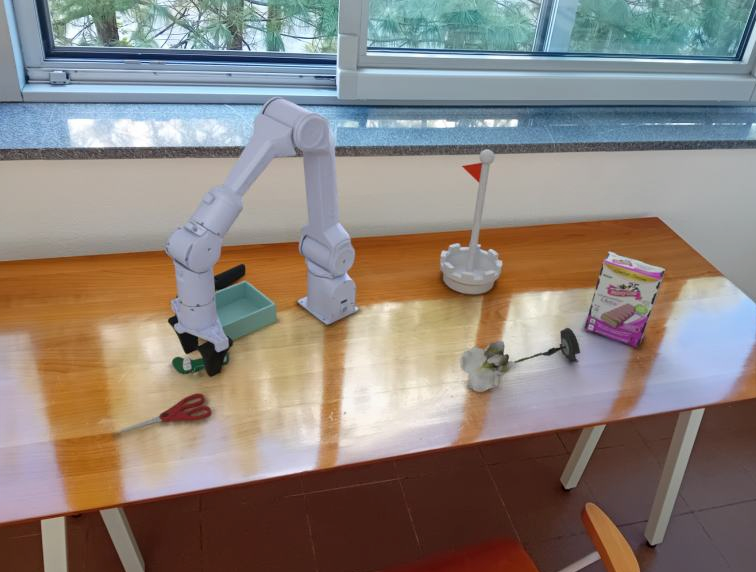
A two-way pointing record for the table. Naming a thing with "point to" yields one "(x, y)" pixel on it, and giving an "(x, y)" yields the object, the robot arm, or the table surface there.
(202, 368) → the gaming controller
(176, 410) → the scissors
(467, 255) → the flag stand
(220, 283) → the electric trimmer
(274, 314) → the tub
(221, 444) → the table surface
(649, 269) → the candy bar box
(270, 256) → the table surface
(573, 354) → the artificial flower
